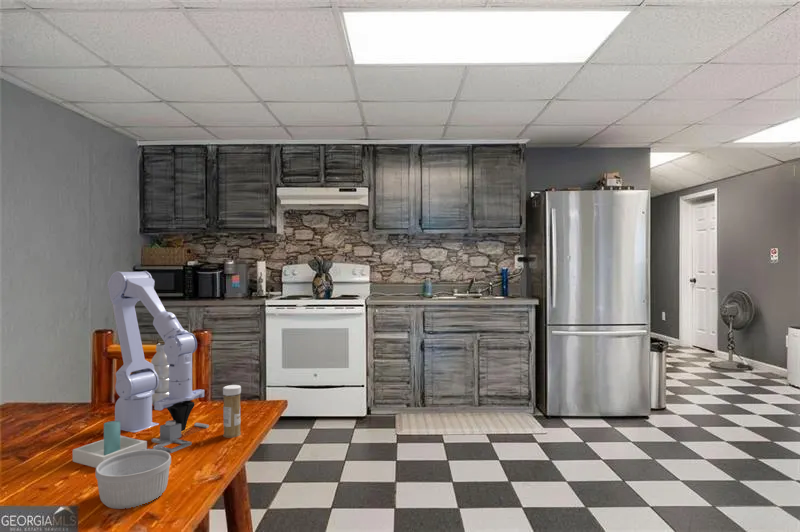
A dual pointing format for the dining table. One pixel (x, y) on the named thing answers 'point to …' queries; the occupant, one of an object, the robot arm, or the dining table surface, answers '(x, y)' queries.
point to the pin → (111, 437)
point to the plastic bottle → (161, 374)
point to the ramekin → (133, 478)
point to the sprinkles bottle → (231, 411)
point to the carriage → (170, 430)
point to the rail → (197, 424)
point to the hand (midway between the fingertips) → (180, 430)
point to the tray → (95, 451)
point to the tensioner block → (169, 450)
